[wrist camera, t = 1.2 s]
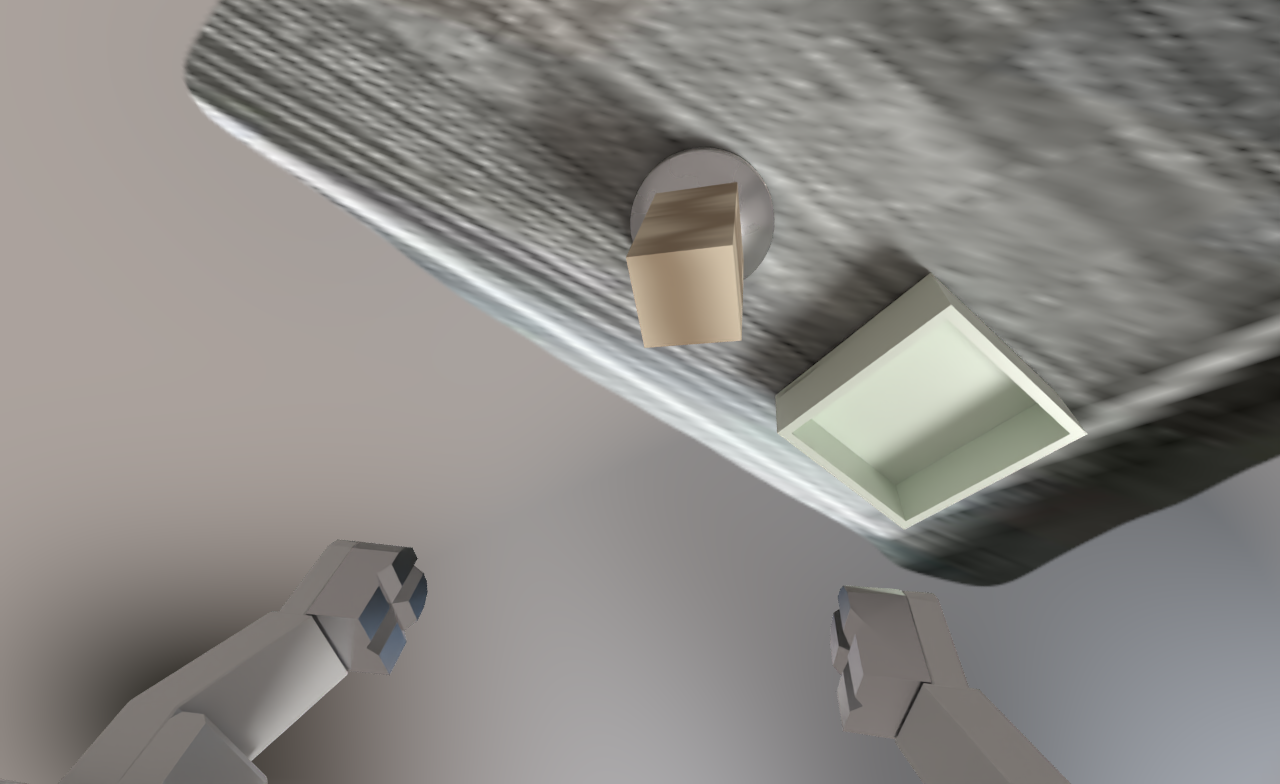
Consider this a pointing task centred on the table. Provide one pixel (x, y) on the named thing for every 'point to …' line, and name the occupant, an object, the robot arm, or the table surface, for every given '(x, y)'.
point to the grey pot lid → (706, 171)
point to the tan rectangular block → (689, 267)
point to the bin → (923, 408)
